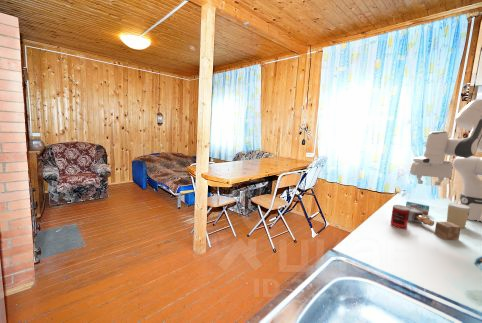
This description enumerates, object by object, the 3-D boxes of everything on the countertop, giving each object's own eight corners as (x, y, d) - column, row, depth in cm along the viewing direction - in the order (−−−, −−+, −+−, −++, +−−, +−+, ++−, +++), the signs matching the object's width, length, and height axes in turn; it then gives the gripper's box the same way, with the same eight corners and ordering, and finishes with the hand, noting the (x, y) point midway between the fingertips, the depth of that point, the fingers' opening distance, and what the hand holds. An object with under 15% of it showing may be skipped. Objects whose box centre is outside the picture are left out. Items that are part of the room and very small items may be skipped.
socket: (446, 234, 120) (448, 221, 119) (458, 239, 114) (461, 226, 113) (434, 234, 119) (436, 221, 118) (445, 239, 113) (448, 226, 112)
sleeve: (413, 218, 140) (414, 208, 139) (421, 222, 134) (423, 212, 133) (403, 218, 139) (404, 208, 138) (411, 222, 133) (413, 212, 132)
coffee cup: (471, 229, 127) (475, 209, 125) (451, 227, 129) (455, 207, 127) (458, 223, 136) (462, 203, 134) (440, 221, 138) (444, 202, 136)
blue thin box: (405, 210, 155) (406, 201, 154) (405, 209, 156) (406, 201, 155) (427, 215, 146) (429, 206, 146) (427, 215, 147) (429, 206, 147)
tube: (410, 215, 141) (411, 209, 140) (434, 226, 125) (435, 219, 124) (404, 215, 140) (405, 209, 140) (427, 226, 124) (429, 219, 124)
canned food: (401, 223, 132) (404, 205, 130) (410, 229, 124) (413, 210, 122) (387, 222, 132) (390, 204, 131) (395, 228, 125) (398, 209, 123)
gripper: (448, 161, 129) (443, 184, 131) (410, 158, 131) (406, 181, 133) (457, 162, 123) (452, 187, 125) (418, 159, 124) (413, 183, 126)
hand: (428, 184), depth 129 cm, fingers open, 8 cm apart
